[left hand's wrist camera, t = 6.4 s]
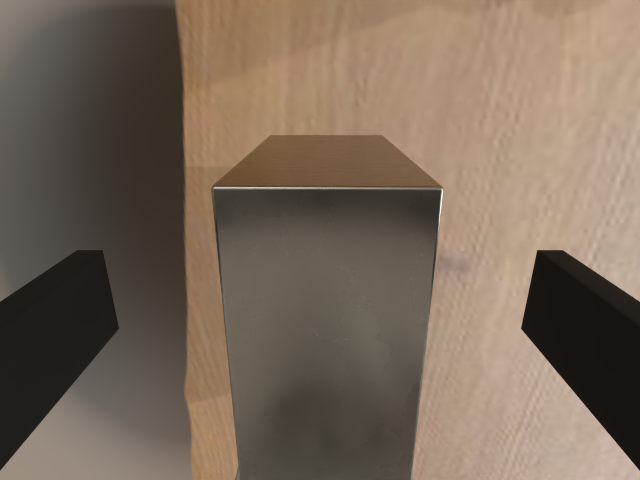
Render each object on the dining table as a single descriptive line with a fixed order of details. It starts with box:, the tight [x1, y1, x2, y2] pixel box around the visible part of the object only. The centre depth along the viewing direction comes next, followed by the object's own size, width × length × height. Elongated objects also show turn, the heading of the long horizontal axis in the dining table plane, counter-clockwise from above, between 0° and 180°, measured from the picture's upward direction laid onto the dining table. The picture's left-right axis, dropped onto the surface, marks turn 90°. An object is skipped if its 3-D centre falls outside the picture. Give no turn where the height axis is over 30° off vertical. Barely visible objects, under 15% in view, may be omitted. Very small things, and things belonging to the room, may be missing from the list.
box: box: [211, 135, 444, 480], centre depth 20 cm, size 20×6×12 cm, turn 0°
